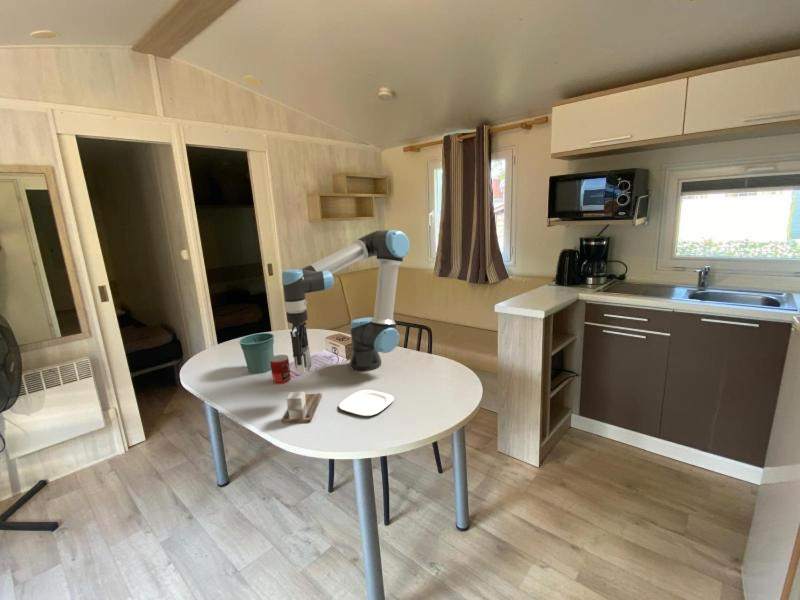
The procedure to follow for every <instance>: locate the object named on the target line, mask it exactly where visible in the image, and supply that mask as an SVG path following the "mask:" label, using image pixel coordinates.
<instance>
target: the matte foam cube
mask: <svg viewBox="0 0 800 600" xmlns="http://www.w3.org/2000/svg"><path fill="white" fill-rule="evenodd" d="M302 355H303V359H304V367H305V372H310V369H311V368H312V360H311V359H312V358H311V351H310V346H307V347H302ZM293 363H294V371H295V373H297V365H296V357H293Z"/></svg>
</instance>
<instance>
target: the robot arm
mask: <svg viewBox="0 0 800 600" xmlns="http://www.w3.org/2000/svg"><path fill="white" fill-rule="evenodd" d="M410 246H411V245H410V240H409V238H408V237H407V235H406V233H404V232H403V231H400V230H397V229H391V230H390V229H388V230H375V231H373V232H370V233H368V234H366V235H364V236H361V237H359V238H358V239H355V241H354V243H352V244H350V245H348V246H346V247H344V248H342V249H340V250H338V251H336V252H334V253H332V254H330V255H328V256H326V257H323V258H322V259H320V260H318V261H316V262H313V263H311V264H309V265H307V266H305V267H303V268H294V269H286V270H283V272H281V285H282V290H283V296H284V297H283V299H284V307H285V311H286V321H287V323H289V324H291V325H292V327H291V331H290V338H291V346H292V357H293V358H294V357H296V365H297V372H296V373H299V374H301V373H305V372H306V371H305V367H304V359H303V355H302V347H309V339H308V331H307V322H306V321H307V320H308V319H309V316H308V311H307V310H306V309H307V304H308V301H306V294H309V293H315V292H316V293H317V292H321V291H326V290H330V289H332V288H333V286H334V283H335V281H334V276H333V274H335V273H337V272H338V271H341V270H343V269H344V268H346V267H348V266H350V265H353V264H354V263H356V262H358V261H360V260H366V259H369V258H371V257H376V261H377V263H379V264H378V265H379V266H378V272H377V273H378V274H377V284H376V293H375V303H374V310H373V311H374V313H373V317H369V316H368V317H362V318H361V317H360V318H356V319H354V320H352V321H351V322H350V326H349V327H350V329H349V330H350V337H351V339H350V340H351V347H352V351H351V356H350V360H349V365H350V369H352V370H354V371H365V372H366V371H373V370H375V369H378V368H379V367H380V366H381V365H382V358H381V355H380V353H382V354H388V353H391V352H392V351H393V350H394V349H396V348H397V346H398V344H399V341H400V333H399V332H398V330H397V329H396V324H397V323H396V321H395V320H394V311H395V310H394V309H395V303H396V302H395V301H396V294H397V293H396V292H397V284H398V275H399V267H400V265H401V264H403V260H404V258H405V257H406V256H407V255H408V254H409V251H410Z"/></svg>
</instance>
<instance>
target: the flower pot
mask: <svg viewBox="0 0 800 600" xmlns="http://www.w3.org/2000/svg"><path fill="white" fill-rule="evenodd" d="M274 339H275V334H273V333H271V332H258V333H252V334H249V335H245V336H243V337H241V338H240V339H239V340H238V343H239V345H240V347H241V351H242V352H243V356H244V360H245V364H246V368H247V371H248V372H249V373H250V374H255V375H256V374H258V375H259V374H263V373H267V372H269V370H270V371H272V370H271V364H270V358H271V357H273V356H275V355H274V344H275V342H274V341H275V340H274Z"/></svg>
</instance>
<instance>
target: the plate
mask: <svg viewBox="0 0 800 600" xmlns="http://www.w3.org/2000/svg"><path fill="white" fill-rule="evenodd" d="M394 400H395V397H394V396H393V395H391V394H389V393H385V392H382V391H378V390H373V389H362V390H361V389H360V390H358V391H356V392H354V393H352V394H350V395H349V396H348V397H346V398H344V399H343V400H342V401H341V402H339V404H338V408H339V409H340V410H341V411H344V412H347V413H349V414H352V415H356V416H361V417H373V416H375V415H377V414H379V413H381V412H383V410H385V409H386V408H387V407H389V406H390V405H391V404H392V403H393V402H394Z"/></svg>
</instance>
